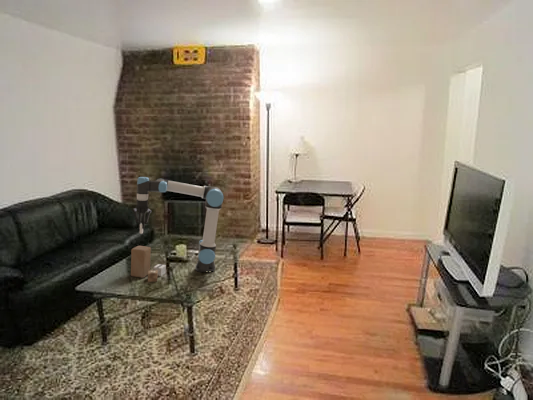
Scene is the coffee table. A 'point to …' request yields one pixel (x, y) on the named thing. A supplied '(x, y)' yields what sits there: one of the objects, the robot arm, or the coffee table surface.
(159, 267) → the striped grey block
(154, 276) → the marked walnut cube
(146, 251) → the block
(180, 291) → the coffee table surface
